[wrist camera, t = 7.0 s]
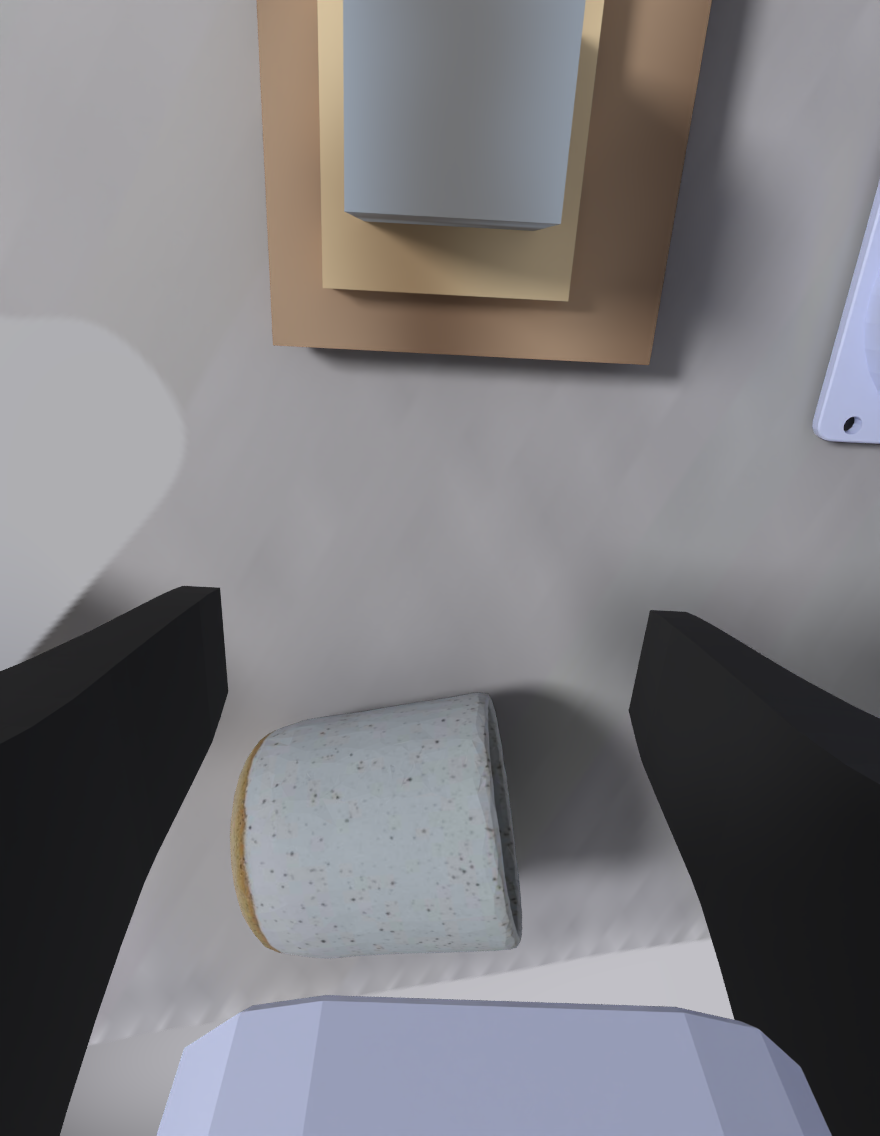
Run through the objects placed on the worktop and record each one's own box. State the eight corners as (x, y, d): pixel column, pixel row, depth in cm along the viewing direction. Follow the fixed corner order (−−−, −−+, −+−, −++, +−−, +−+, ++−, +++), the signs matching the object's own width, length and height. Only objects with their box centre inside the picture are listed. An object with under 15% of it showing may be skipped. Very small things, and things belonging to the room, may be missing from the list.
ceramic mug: (255, 686, 24) (183, 864, 17) (482, 646, 24) (502, 814, 17) (334, 890, 29) (302, 1097, 22) (527, 862, 28) (557, 1065, 21)
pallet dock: (728, -222, 15) (758, -272, 13) (634, 357, 20) (649, 365, 18) (259, -257, 14) (242, -311, 13) (284, 339, 19) (273, 345, 18)
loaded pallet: (602, -50, 15) (671, -176, 10) (561, 299, 18) (602, 313, 13) (322, -70, 15) (275, -205, 10) (328, 286, 17) (292, 295, 13)
